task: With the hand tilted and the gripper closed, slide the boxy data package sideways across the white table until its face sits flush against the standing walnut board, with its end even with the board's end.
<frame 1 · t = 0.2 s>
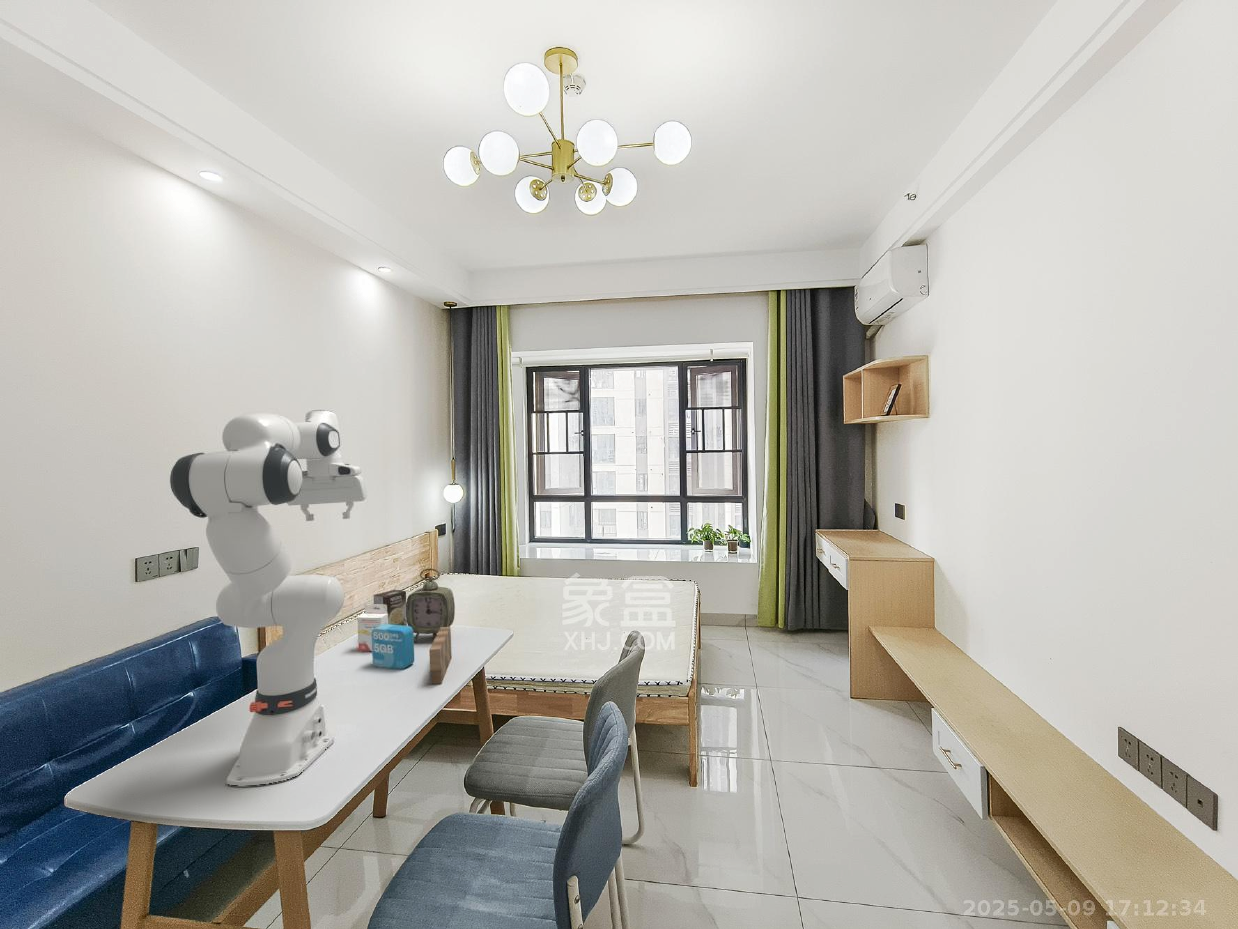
hand: (328, 519, 160), 48 cm above the table, tool pointing down, fingers open, 8 cm apart
data package: (393, 666, 179), on the table
ink cartridge box: (374, 650, 193), on the table
coffee box: (391, 638, 204), on the table
walnut board: (441, 670, 173), on the table
tabletop clock: (433, 639, 202), on the table
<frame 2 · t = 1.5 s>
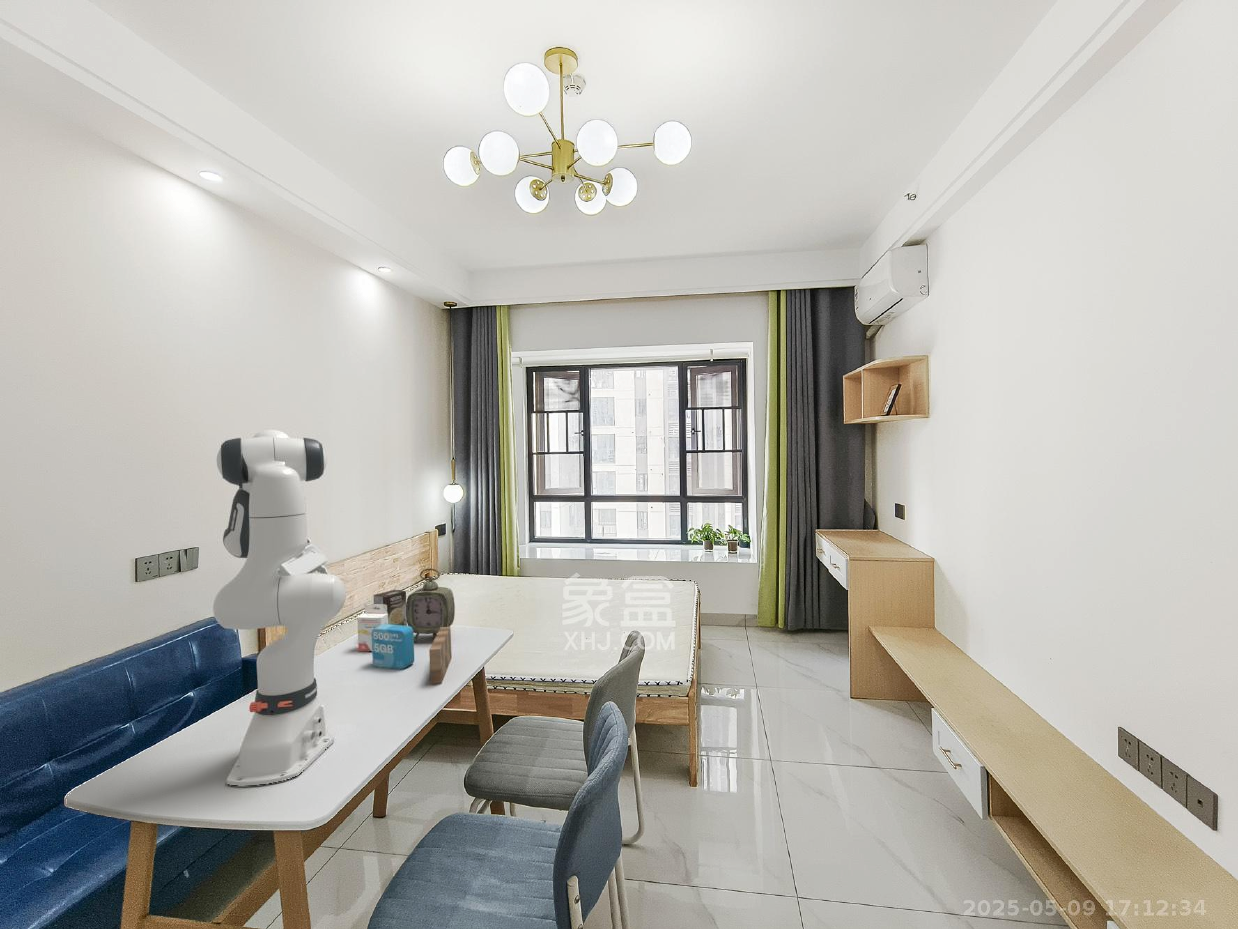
hand: (321, 583, 174), 27 cm above the table, tool tilted 45°, fingers open, 8 cm apart
nothing on the table moved.
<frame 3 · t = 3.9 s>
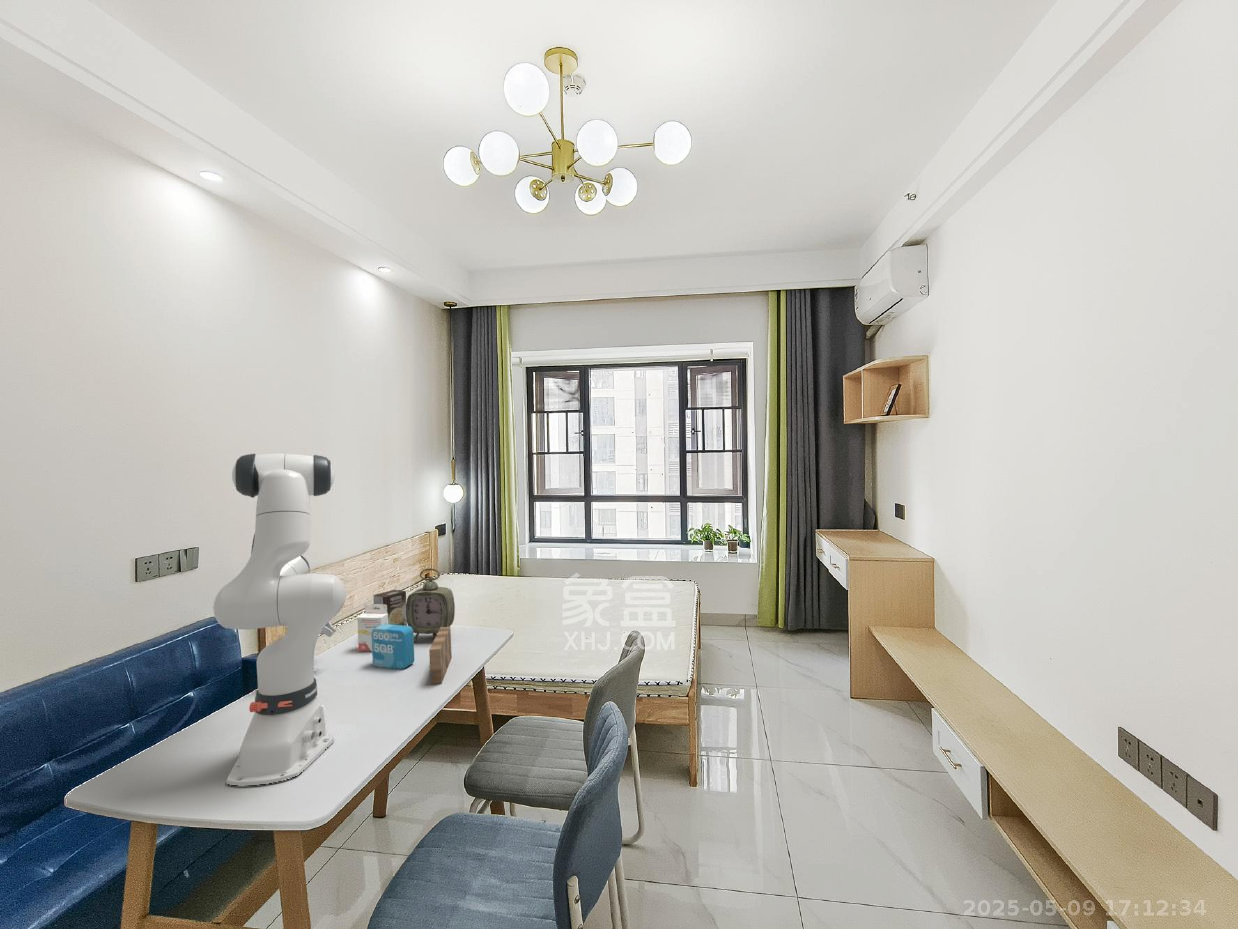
hand: (333, 633, 176), 11 cm above the table, tool tilted 45°, fingers closed
nothing on the table moved.
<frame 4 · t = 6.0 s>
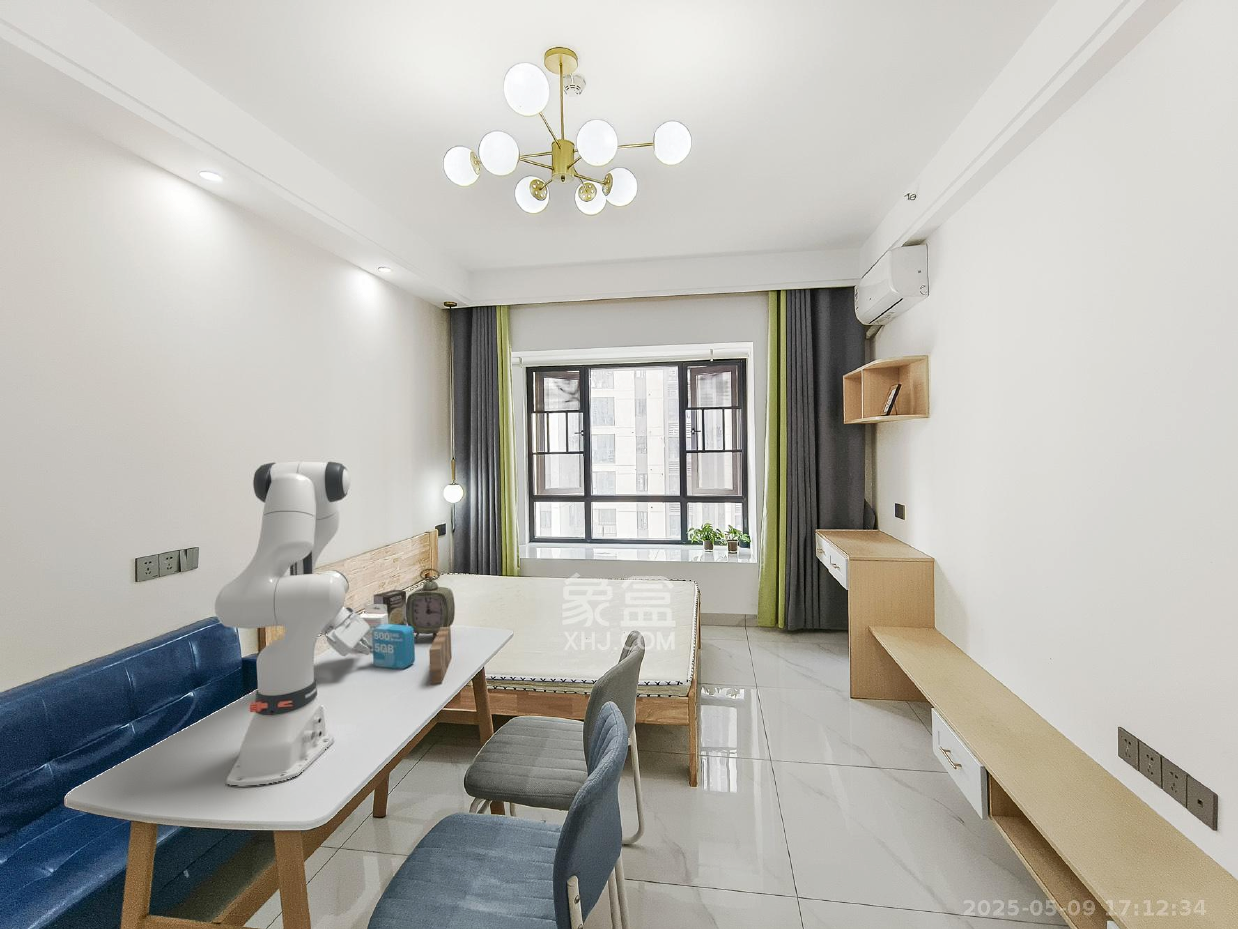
hand: (370, 651, 177), 5 cm above the table, tool tilted 45°, fingers closed
data package: (394, 665, 179), on the table, touching gripper
everything else where it was.
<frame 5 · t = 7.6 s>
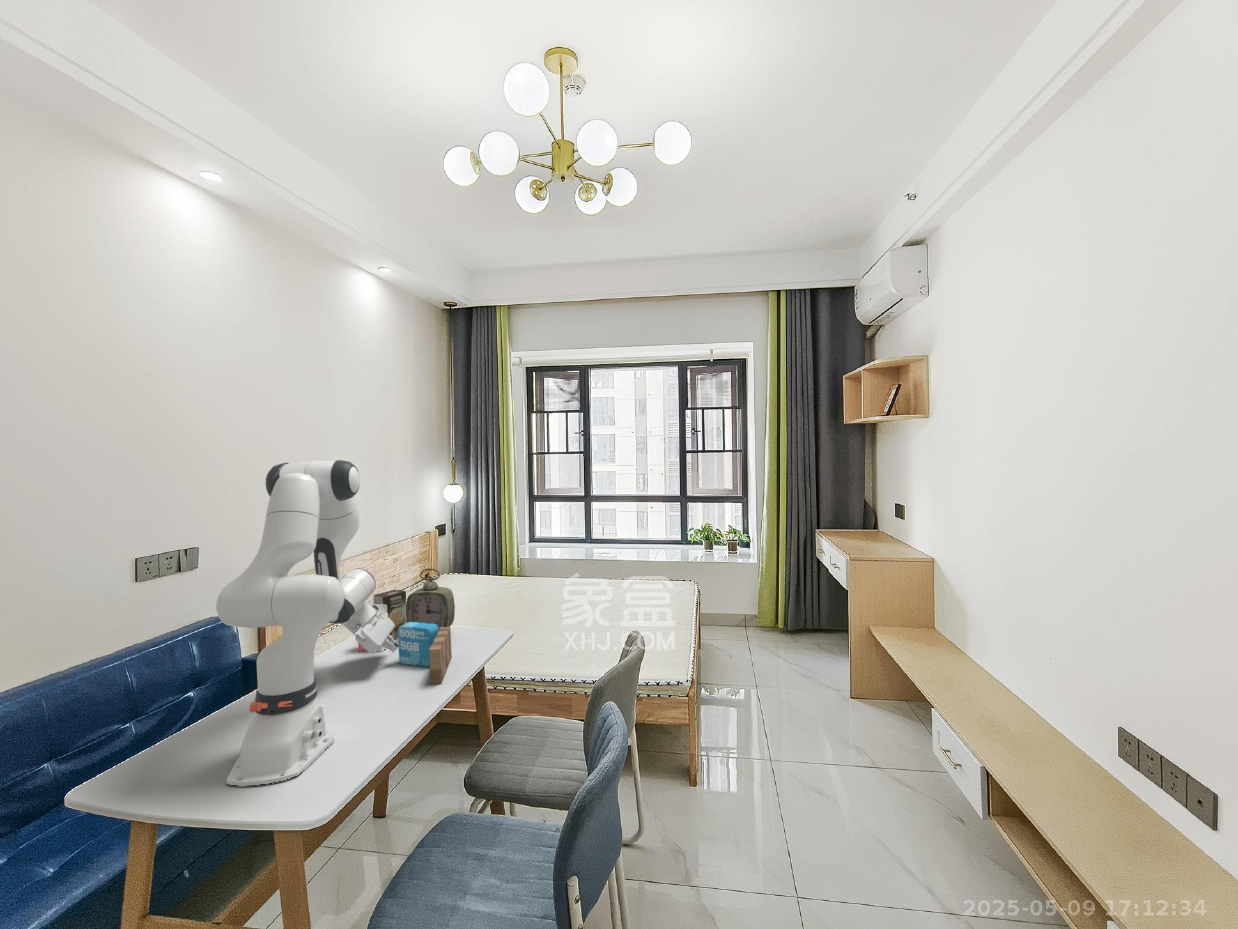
hand: (396, 649, 179), 5 cm above the table, tool tilted 45°, fingers closed
data package: (419, 663, 180), on the table, touching gripper, walnut board
everything else where it was.
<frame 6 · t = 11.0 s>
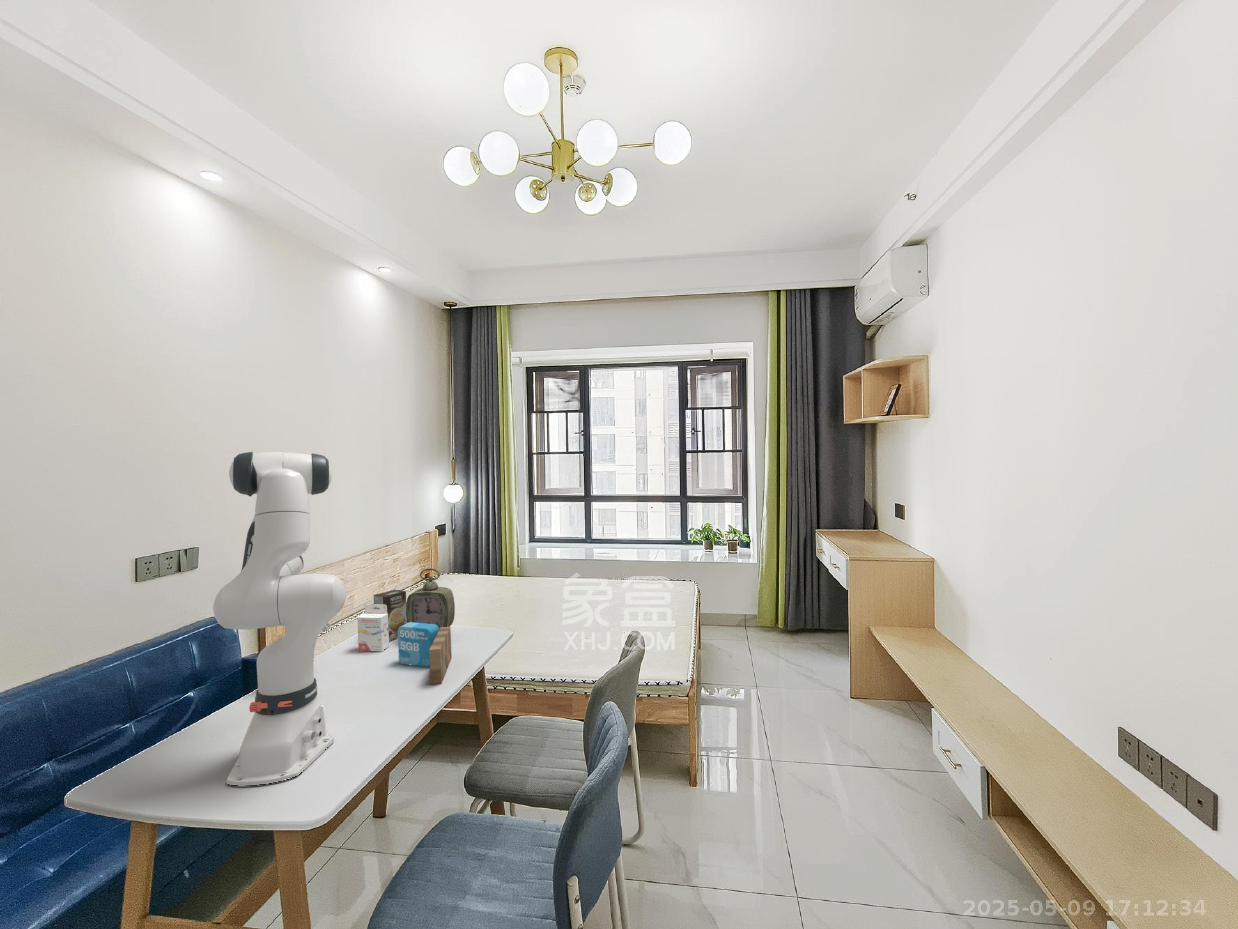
hand: (327, 628, 175), 13 cm above the table, tool tilted 45°, fingers closed
data package: (419, 664, 180), on the table
everything else where it was.
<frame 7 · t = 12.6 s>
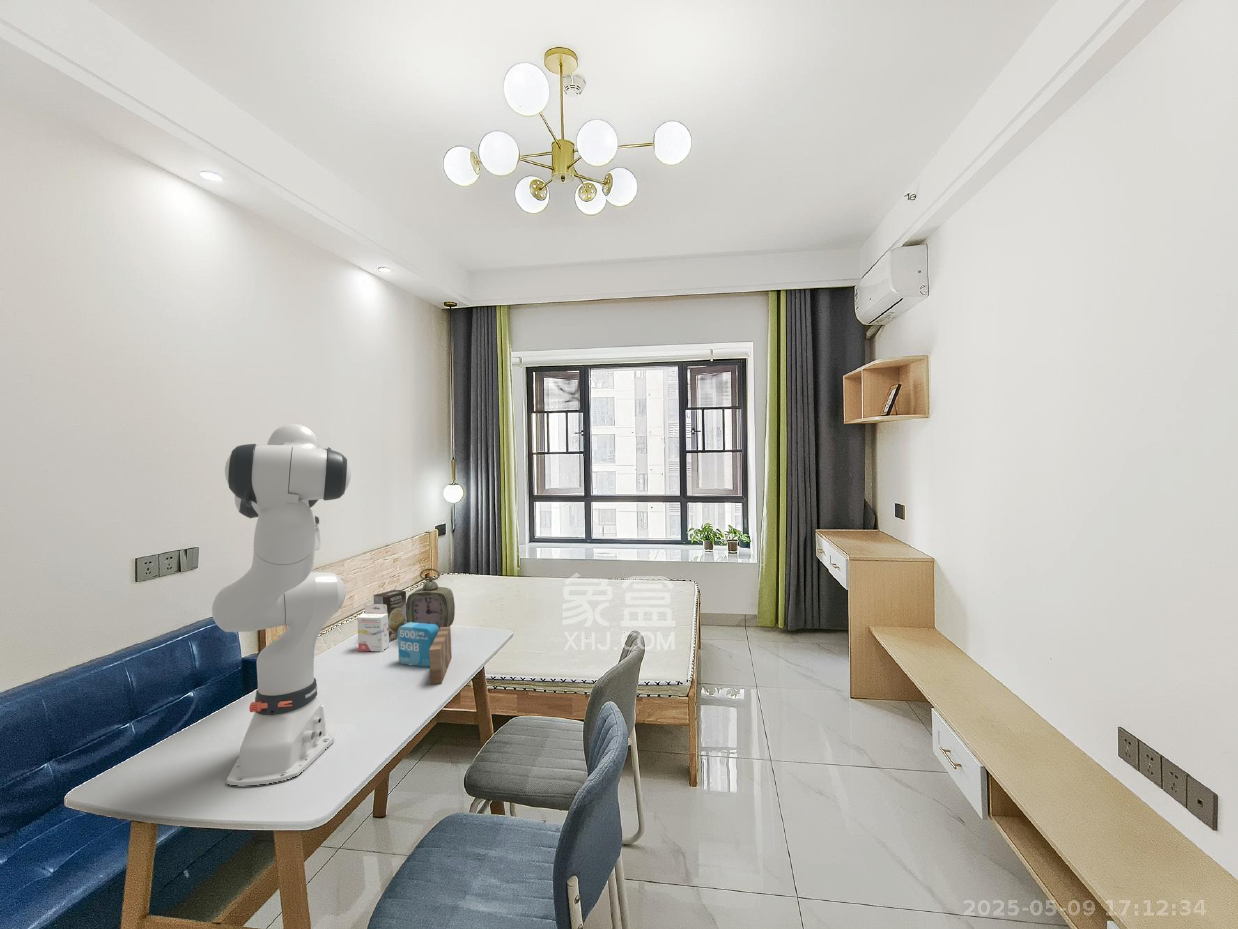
hand: (301, 571, 160), 34 cm above the table, tool pointing down, fingers closed
nothing on the table moved.
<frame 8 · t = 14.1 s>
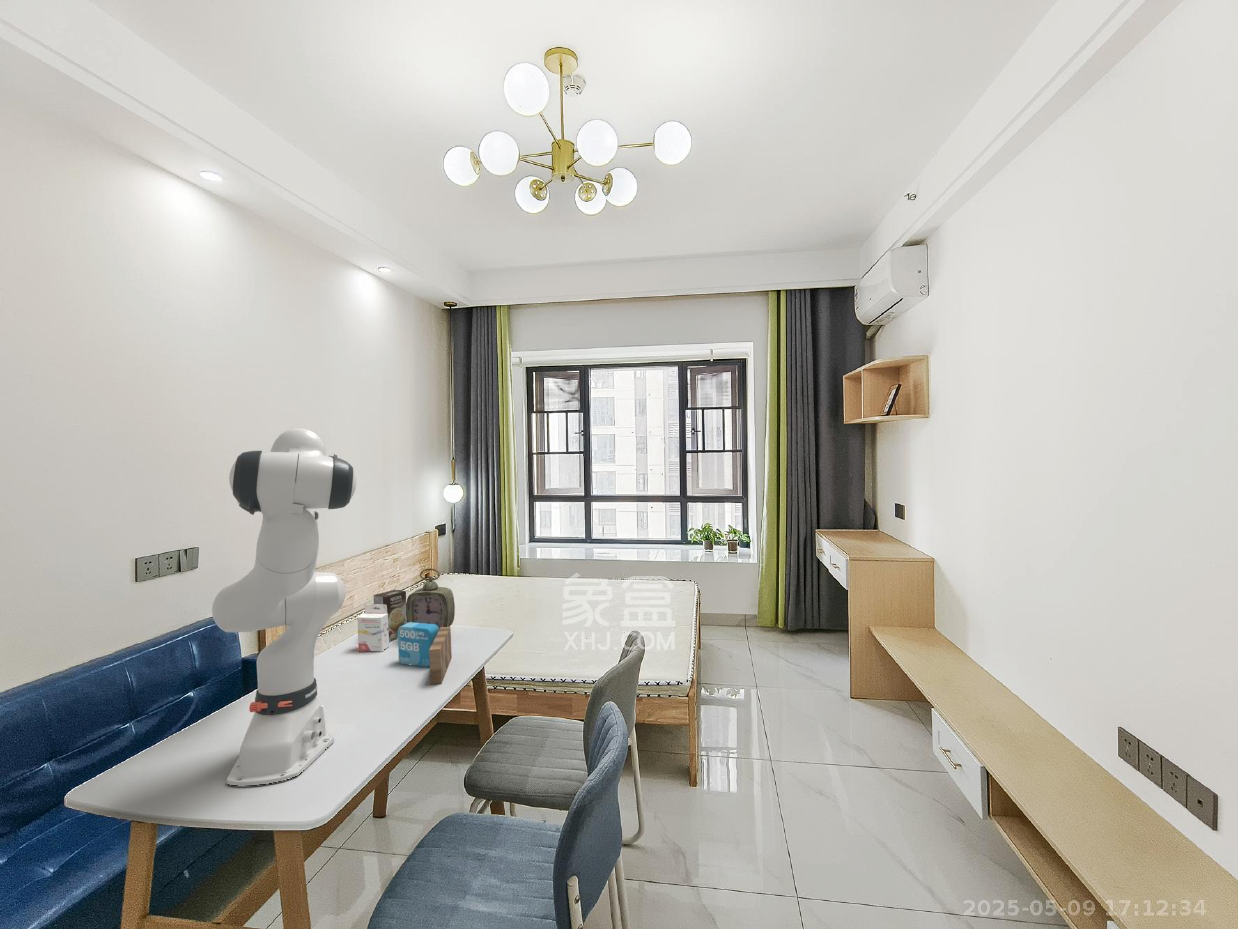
hand: (298, 567, 159), 35 cm above the table, tool pointing down, fingers closed
nothing on the table moved.
at the end: data package 0.0 cm from the target spot on the table beside the walnut board, on the table; data package tilted 0° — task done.
